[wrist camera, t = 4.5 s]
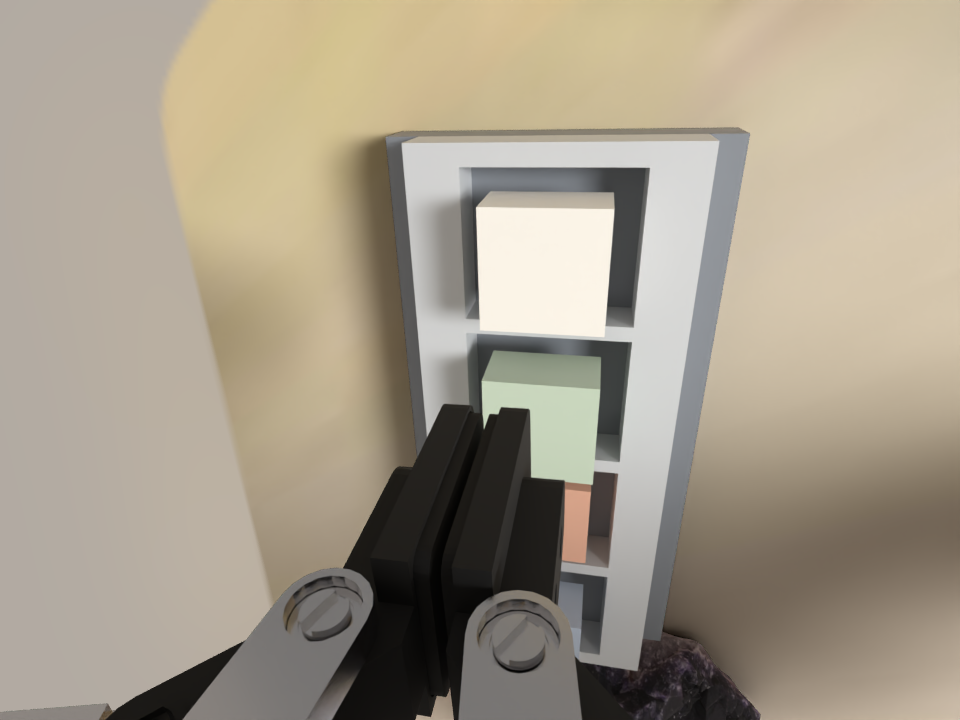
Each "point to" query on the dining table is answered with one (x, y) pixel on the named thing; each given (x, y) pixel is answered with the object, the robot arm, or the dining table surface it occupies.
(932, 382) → the dining table surface
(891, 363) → the dining table surface
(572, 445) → the key sage
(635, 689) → the crystal cluster
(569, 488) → the key terracotta
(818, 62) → the dining table surface
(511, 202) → the key ivory
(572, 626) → the key slate
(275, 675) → the robot arm
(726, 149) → the keypad board
